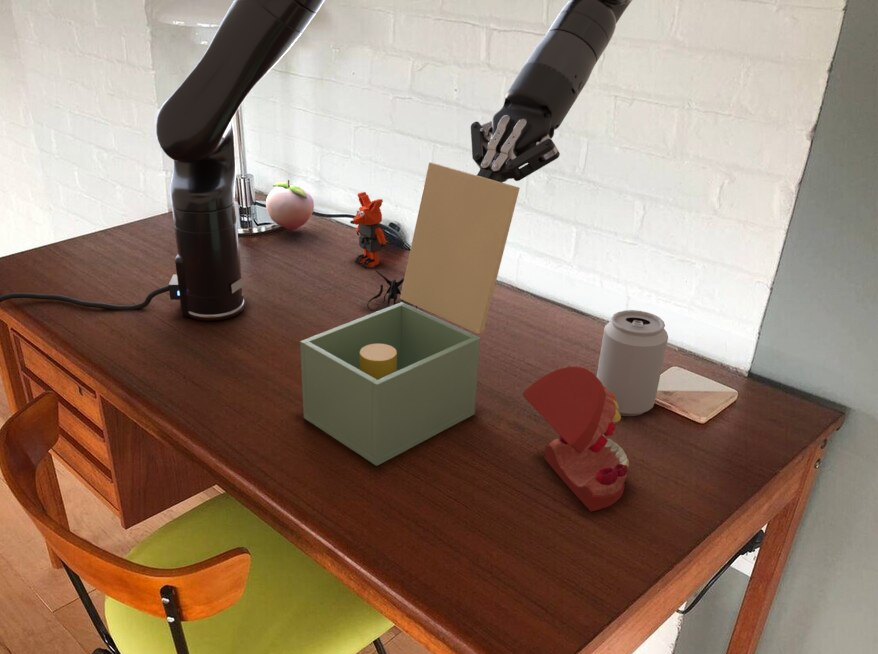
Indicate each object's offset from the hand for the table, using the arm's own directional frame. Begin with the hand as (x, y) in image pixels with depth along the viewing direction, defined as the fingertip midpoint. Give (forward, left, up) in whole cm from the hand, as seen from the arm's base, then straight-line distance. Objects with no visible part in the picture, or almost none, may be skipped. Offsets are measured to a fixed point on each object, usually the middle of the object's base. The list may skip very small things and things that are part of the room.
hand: (475, 201), depth 99 cm
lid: (-3, -2, -5) cm, 6 cm away
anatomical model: (+10, -23, -25) cm, 35 cm away
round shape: (-12, -10, -19) cm, 25 cm away
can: (+20, -7, -25) cm, 32 cm away
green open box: (-10, -9, -25) cm, 28 cm away
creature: (-8, +23, -25) cm, 35 cm away
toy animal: (-12, +41, -25) cm, 50 cm away
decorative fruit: (-26, +58, -25) cm, 69 cm away
